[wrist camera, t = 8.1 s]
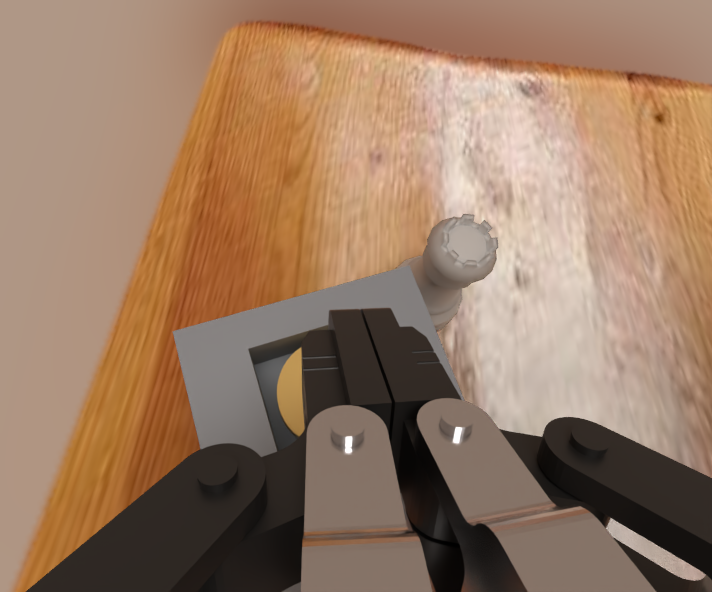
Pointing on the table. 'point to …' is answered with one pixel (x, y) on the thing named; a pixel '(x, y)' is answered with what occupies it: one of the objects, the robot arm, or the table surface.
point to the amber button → (291, 394)
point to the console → (278, 357)
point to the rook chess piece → (452, 264)
